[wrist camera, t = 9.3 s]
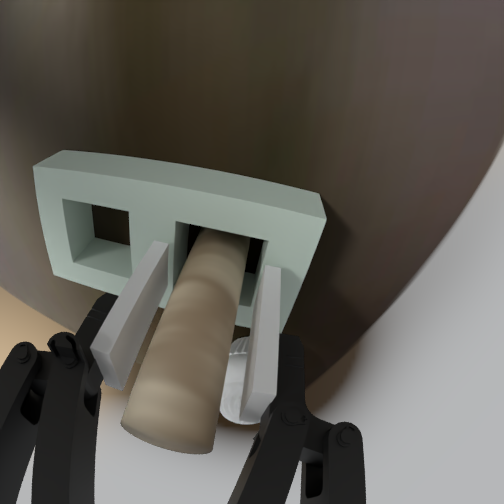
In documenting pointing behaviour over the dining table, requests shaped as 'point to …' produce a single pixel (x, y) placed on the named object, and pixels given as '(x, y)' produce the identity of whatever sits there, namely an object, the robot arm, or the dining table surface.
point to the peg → (191, 349)
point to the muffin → (235, 381)
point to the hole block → (171, 220)
